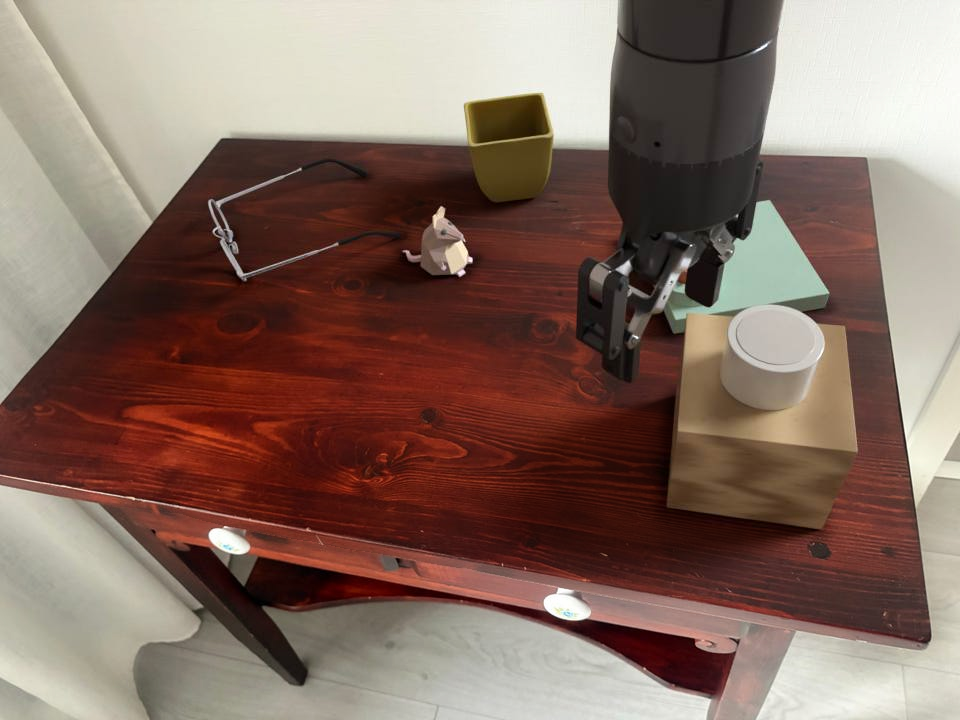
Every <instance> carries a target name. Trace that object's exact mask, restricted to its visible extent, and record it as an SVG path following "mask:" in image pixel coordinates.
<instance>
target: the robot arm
mask: <svg viewBox="0 0 960 720" xmlns="http://www.w3.org/2000/svg"><path fill="white" fill-rule="evenodd" d="M784 5H785V0H617V17H616V20H617V22H616V25H617V28H616V37H615V43H614V44H615V45H614V49H613V56H612V61H611V69H610V79H609V80H610V82H609V115H608V116H609V117H608V118H609V120H608V158H607V159H608V160H607V161H608V163H607V166H608V167H607V190H608V194H609V197H610V199H611V201H612V204H613V206H614V207H615V209H616V211H617V213H618V215H619V217H620V219H621V222H622V225H621V229H620V232H619V233H620V234H619V236H618V239H617V242H616V245H615V252H614V253H613V254H611V255H610V256H609V257H607V258H606V259H605V260H604V261H600V260H598V259H596V258H594V257H593V256H587V257H586V258H584V260H583V261H582V262H581V264H580V265H579V267H578V273H577V295H576V296H577V299H576V322H575V323H576V324H575V326H576V327H575V339H576V340H578V341H579V342H580V343H583V344H584V345H586V346H587V347H589V348H591V349H592V350H594V351H595V352H597V353H598V354H600V355H601V368H602V370H603V371H605V372H606V373H608V374H609V375H611V376H613V377H614V378H616V379H618V380H619V381H621V382H622V381H624V382H625V383H627V384H631V383H633V381H634V380H635V379H637V377H638V376H639V375H640V374H639V373H640V362H641V349H642V348H641V347H642V339H641V338H642V336H643V334H644V332H645V330H646V328H647V325H648V324H649V321H650V319H651V317H652V316H653V315H659V314H661V313H662V312H664V310H663V309H664V307H665V305H666V303H667V301H668V298H669V296H670V294H671V292H672V290H673V288H674V286H675V284H676V282H677V280H678V278H679V276H680V275H681V274H682V273H683V272H684V271H685V270H687V275H686V283H685V290H684V291H685V294H686V296H687V297H688V298H690V299H692V300H694V301H695V302H697V303H699V304H701V305H703V306H705V307H708V308H709V307H711V306H712V305H714V304H715V303H716V302H717V301H718V298H719V293H720V287H721V282H722V276H723V271H724V265H725V263H726V262H727V261H729V259H730V258H731V257H732V256H733V253H734V250H735V246H734V244H733V242H734V241H735V240H736V239H737V238H738V239H740V240H745V239H746V238H747V237H748V236H749V234H750V233H751V229H752V226H753V220H754V214H755V208H756V203H757V202H758V196H759V190H760V185H761V180H762V179H761V178H762V173H763V168H764V161H763V160H760V154H761V150H762V145H763V141H764V135H765V131H766V123H767V119H768V113H769V109H770V104H771V99H772V95H773V89H774V85H775V79H776V70H777V55H778V54H777V51H778V38H779V31H780V25H781V19H782V14H783V9H784ZM737 214H738V217H736V215H737ZM630 273H633V274H634V275H635V276H636V277H638V278H639V279H641V280H643V281H645V282H646V283H648V284H650V285H652V286H653V285H654V286H656V287H655V288H654V289H653V291H652V292H651V295H648V294H647V293H645V292H643V291H642V290H639V289H638V288H635V287H634V286H632V285H631V284H630V277H629V275H630ZM654 286H653V287H654ZM627 305H629V306H631V307H632V308H633V309H634V314H633V316H632V318H631V320H630V323H627V322H626V315H627V314H626V313H627Z"/></svg>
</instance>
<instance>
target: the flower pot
mask: <svg viewBox="0 0 960 720" xmlns="http://www.w3.org/2000/svg"><path fill="white" fill-rule="evenodd" d="M463 111H464V118H465V127H466V137H467V146H468V151H469V154H470V158H471V163H472V167H473V171H474V175H475V178H476V181H477V183H478V186H479V188H480V190H481V191H482V193H483V194H484V196H485V197H487V198H488V200H490V201H491V202H492V203H502V202H504V203H505V202H511V201H518V200H527V199H528V200H529V199H534V198H537V197H538V196H539V195H540V194H541V193H542V191H543V190H544V188H545V186H546V184H547V183H548V181H549V177H550V173H551V167H552V158H553V147H554V137H555V132H554V128H553V125H552V121H551V118H550V114H549V109H548V105H547V101H546V97H545V95H544V93H543V92H529V93H522V94H515V95H507V96H499V97H493V98H485V99H478V100H472V101H467V102H464V103H463Z"/></svg>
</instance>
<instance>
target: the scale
mask: <svg viewBox="0 0 960 720" xmlns="http://www.w3.org/2000/svg"><path fill="white" fill-rule="evenodd" d="M736 217H738V214H737V215H736ZM733 244H734V246H735V250H734V253H733V256H732V257H731V258H730V259H729V261H727V262H726V263H725V265H724V271H723V276H722V282H721V287H720V293H719V298H718V301H717V302H716V303H715V304H714V305H712V306H711V307H709V308H708V307H705V306H703V305H701V304H699V303H697V302H695V301H694V300H692V299H690V298H688V297H687V296H686V294H685V291H684V290H685V284H682V283H680V282H678V281H677V282H676V284H675V286H674V288H673V290H672V292H671V294H670V296H669V298H668V301H667V303H666V305H665V307H664V309H663V312H664V315H665V317H666V319H667V322H668V324H669V327H670V329H671V331H672V333H673V335H675V334H681V333H684V331H685V323H686V316H687V313H695V314H707V315H719V316H731V317H735V316H736V315H737V314H738V313H740V312H741V311H743V310H745V309H747V308H750V307H753V306H758V305H780V306H785V307H789V308H792V309H795V310H797V311H800V312H802V313H803V312H808V311H809V312H810V311H813V310H814V311H815V310H820V309H825V308H826V305H827V302H828V299H829V296H830V291H829V290H828V288H827V287H826V285H825V284H824V283H823V280H822V279H821V278H820V276H819V274H818V273H817V271H816V269H814V267H813V265H812V264H811V262H810V261H809V259H808V257H807V256H806V254H805V253H804V251H803V250H802V248H801V246H800V245H799V243H798V242H797V240H796V238H795V237H794V236H793V234H792V232H791V231H790V229H789V228H788V226H787V224H786V223H785V221H784V220H783V218H782V217H781V215H780V214H779V212H778V211H777V209H776V208H775V206H774V204H773V202H772V201H771V200H770V199H767V200H761V201H757V203H756V208H755V214H754V220H753V226H752V229H751V233H750V234H749V236H748V237H747V238H746V239H745V240H740V239H738V238H737V239H736V240H735V241H734V242H733ZM652 286H653V288H654V289H655V287H656V286H654V285H652Z"/></svg>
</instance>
